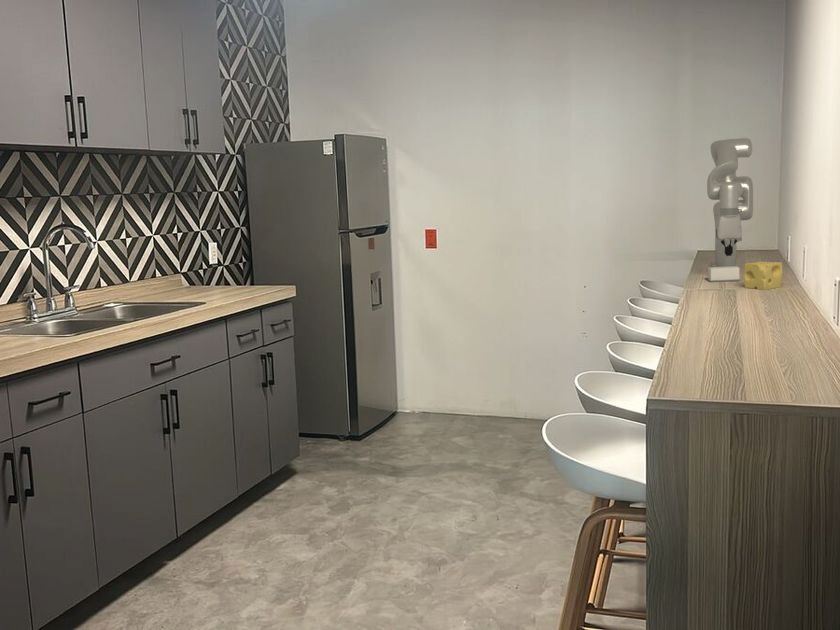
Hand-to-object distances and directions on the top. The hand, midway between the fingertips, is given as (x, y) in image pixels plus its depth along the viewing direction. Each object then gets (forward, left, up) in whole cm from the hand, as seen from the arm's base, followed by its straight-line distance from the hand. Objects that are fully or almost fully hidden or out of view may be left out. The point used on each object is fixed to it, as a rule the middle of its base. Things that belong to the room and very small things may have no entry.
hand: (728, 255), depth 362 cm
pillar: (0, +4, -8) cm, 9 cm away
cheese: (+25, +7, -11) cm, 28 cm away
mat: (0, -3, -11) cm, 11 cm away
